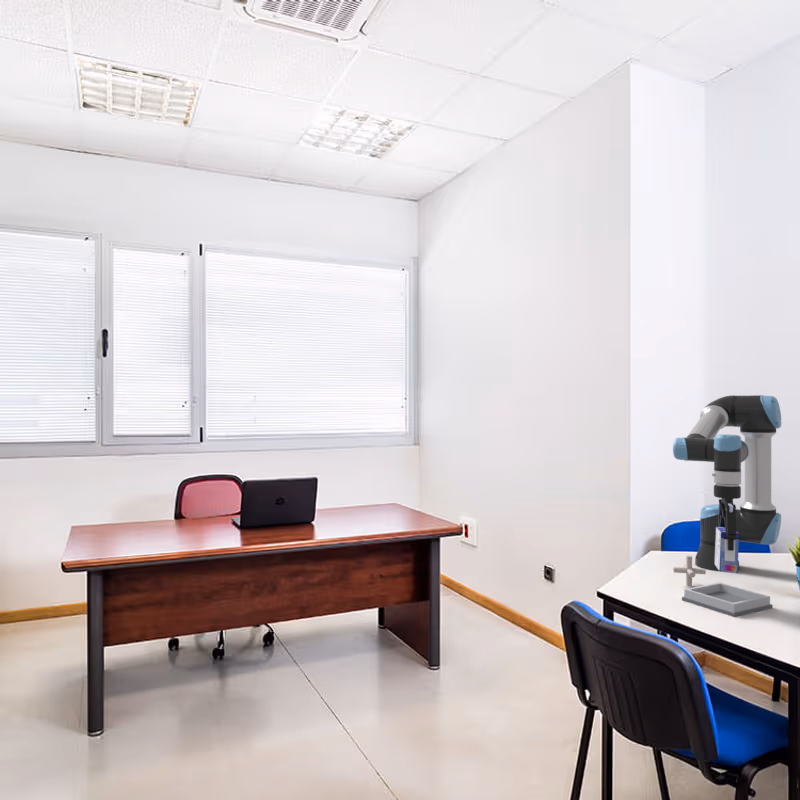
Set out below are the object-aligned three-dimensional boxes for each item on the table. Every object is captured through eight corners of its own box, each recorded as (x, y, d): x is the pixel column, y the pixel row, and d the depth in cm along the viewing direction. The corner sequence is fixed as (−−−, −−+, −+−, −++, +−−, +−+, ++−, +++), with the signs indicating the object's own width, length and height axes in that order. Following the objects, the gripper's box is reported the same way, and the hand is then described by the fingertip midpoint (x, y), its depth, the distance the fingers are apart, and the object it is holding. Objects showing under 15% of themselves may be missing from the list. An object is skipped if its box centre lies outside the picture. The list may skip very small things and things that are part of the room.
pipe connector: (708, 590, 219) (708, 560, 219) (676, 588, 221) (676, 558, 221) (701, 582, 229) (701, 553, 229) (670, 580, 231) (670, 552, 231)
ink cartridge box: (739, 573, 199) (739, 525, 199) (719, 572, 201) (719, 524, 201) (733, 565, 208) (733, 519, 208) (714, 564, 210) (714, 518, 210)
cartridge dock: (719, 592, 217) (719, 581, 217) (772, 608, 201) (772, 596, 201) (681, 600, 208) (682, 589, 208) (734, 616, 193) (734, 604, 192)
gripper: (708, 480, 216) (707, 548, 216) (720, 488, 195) (719, 564, 195) (733, 481, 214) (733, 549, 214) (748, 489, 193) (747, 566, 193)
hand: (726, 556), depth 205 cm, fingers closed on ink cartridge box, 10 cm apart
